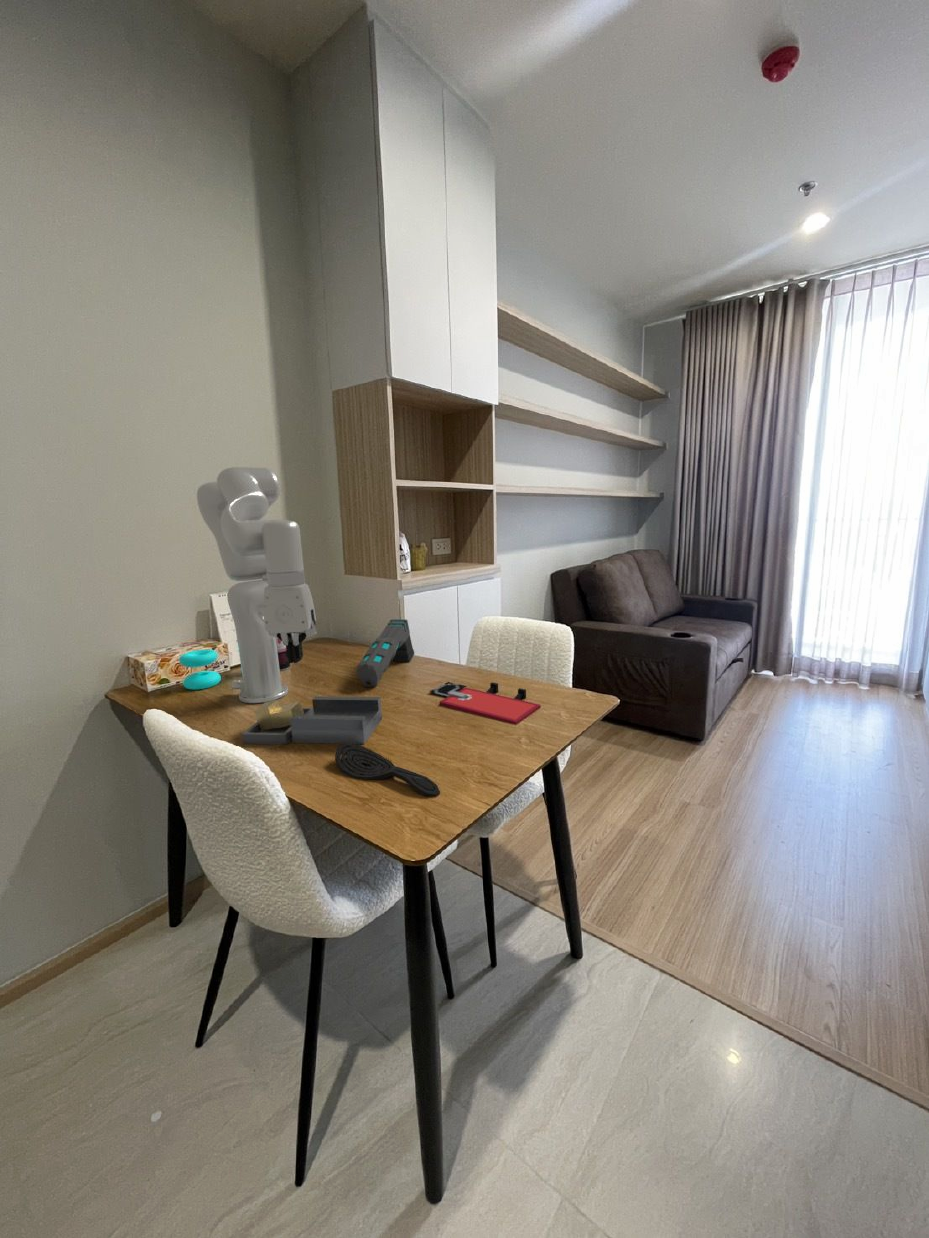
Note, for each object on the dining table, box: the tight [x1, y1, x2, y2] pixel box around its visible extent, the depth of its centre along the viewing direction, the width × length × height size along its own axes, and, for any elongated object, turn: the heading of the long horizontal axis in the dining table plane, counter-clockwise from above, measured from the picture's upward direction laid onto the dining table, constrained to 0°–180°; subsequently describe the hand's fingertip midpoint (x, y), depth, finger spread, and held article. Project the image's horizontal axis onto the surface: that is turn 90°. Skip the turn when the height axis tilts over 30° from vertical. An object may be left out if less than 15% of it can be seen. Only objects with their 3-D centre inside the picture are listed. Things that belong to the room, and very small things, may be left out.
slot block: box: [290, 695, 383, 745], centre depth 111 cm, size 16×13×6 cm
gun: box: [356, 618, 416, 688], centre depth 151 cm, size 6×29×15 cm, turn 166°
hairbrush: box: [334, 740, 441, 798], centre depth 91 cm, size 8×4×25 cm
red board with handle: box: [429, 681, 542, 725], centre depth 125 cm, size 30×3×15 cm
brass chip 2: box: [270, 701, 305, 728], centre depth 112 cm, size 5×5×4 cm
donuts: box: [178, 649, 222, 691], centre depth 146 cm, size 10×10×10 cm
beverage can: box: [276, 637, 291, 672], centre depth 158 cm, size 6×6×15 cm
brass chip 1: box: [253, 698, 281, 731], centre depth 113 cm, size 5×5×4 cm
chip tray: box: [241, 707, 313, 745], centre depth 113 cm, size 10×15×2 cm, turn 173°
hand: (295, 661), depth 109 cm, fingers closed
